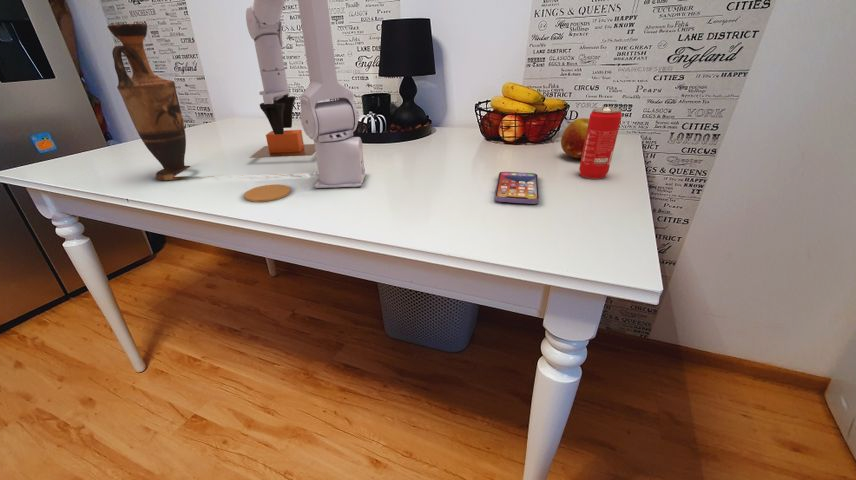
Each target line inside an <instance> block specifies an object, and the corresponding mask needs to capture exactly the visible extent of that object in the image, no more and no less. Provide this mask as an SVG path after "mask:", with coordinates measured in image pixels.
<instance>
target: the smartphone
mask: <svg viewBox="0 0 856 480" xmlns="http://www.w3.org/2000/svg"><path fill="white" fill-rule="evenodd" d="M538 177H539V176H538V174H537V173H533V172H517V171H500V172H499V173H498V175H497V183H496V188H495V191H494V200H495V201H496V202H501V203H514V204H526V205H527V204H529V205H537V204H539V200H540V193H539V192H540V190H539V189H540V188H539V178H538Z"/></svg>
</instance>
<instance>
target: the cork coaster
mask: <svg viewBox="0 0 856 480" xmlns="http://www.w3.org/2000/svg"><path fill="white" fill-rule="evenodd" d="M291 193H292V192H291V188H290V186H288V185H285V184H266V185H261V186H257V187H253V188H251V189H249V190H247V191H245V192H244V194H243V198H244V199H245V200H246V201H248V202H253V203H264V202H271V201H272V202H273V201H276V200H279V199H282V198H285V197H286V196H288V195H290V194H291Z"/></svg>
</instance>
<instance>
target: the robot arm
mask: <svg viewBox="0 0 856 480" xmlns="http://www.w3.org/2000/svg"><path fill="white" fill-rule="evenodd" d="M285 3H286V0H253V4H252V5H249V7H247V8H246V10H245V11H246V12H245V20H246V21H245V22H246V27H247V31H248V33H249V36H250V38H251V39H252V40H253V42H254V47H255V52H256V58H257V63H258V67H259V73H260V77H261V84H262V88H263V90H261V91H259V92H258V93H259V96H262V100H263V102H261V103H259V108H260V110H261V111H262V112H263V114H264V115H265V116H266V119H267V120H268V123H269V125H270V128H271V129H272V130H271V131H273V132H274V134H283V133H284V131H285V129H291V128H293V110H294V105H295V101H296V97H295V96H294V95H293V96H291V95H290V88H289V86H288V80H287V74H286V69H285V68H286V67H285V63H284V56H283V51H282V50H283V49H282V47H283V46H284V45H283V44H284V43H283V25H282V24H283V23H282V20H281V18H282V15H283V14H282V13H283V10H284V6H285ZM297 5H298V11H299V17H300V25H301V32H302V38H303V43H304V51H305V57H306V64H307V70H308V77H309V85H308V86H307V87H306V89H305V90H304V91H303V92H302V93H301V95H300V97H299V98H300V102H299V103H300V122H301V127H302V130H303V131H304V134H305V135H306V136H307V137H308V138H309V139H310V140H311V141H313V144H314V145H315V158H316V164H317V165H316V166H317V172H318V180H317V181H316V183H315V184H314V188H315V189H324V188H326V189H328V188H355V187H356V188H357V187H362V185H363V182H364V180H365V177H366V168H365V158H364V148H363V141H362V138H361V137H360V136H354V132H355V131H356V130H357V127H358V124H359V113H358V109H357V107H356V104H355V98H354V94H353V91H352V90H351V89H350V88H348V87H346V86H345V85H344V84H343V83H341V82H339V80H338V77H337V68H336V60H335V59H336V58H335V52H334V42H333V35H332V34H333V33H332V25H331V18H330V10H329V9H330V8H329V0H297ZM326 100H327V101H326Z"/></svg>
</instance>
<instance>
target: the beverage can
mask: <svg viewBox="0 0 856 480" xmlns="http://www.w3.org/2000/svg"><path fill="white" fill-rule="evenodd" d="M622 110H623V109H621V108H617V107H595V108H592V112H591V113H590V114H589V117H588V119H589V123H588V128H587V133H586V138H585V143H584V148H583V153H582V158H580V163H579V174H580V176H581V177H582V178H585V179H590V180H591V179H593V180H600V179H604V178H606V175H607V174H608V172H610V166H611V162H612V158H613V155H614V150H615V145H616V142H617V137H618V133H619V129H620V125H621V122H622V117H623V113H622Z"/></svg>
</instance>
